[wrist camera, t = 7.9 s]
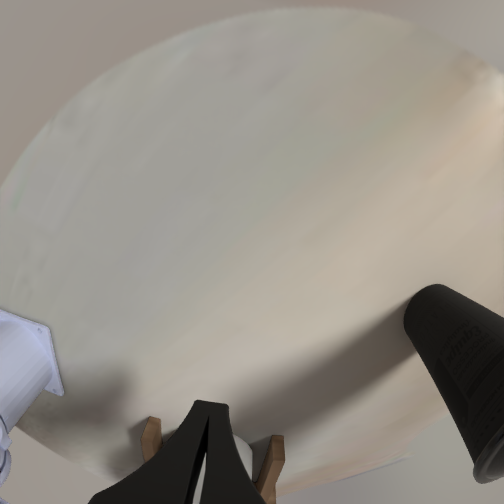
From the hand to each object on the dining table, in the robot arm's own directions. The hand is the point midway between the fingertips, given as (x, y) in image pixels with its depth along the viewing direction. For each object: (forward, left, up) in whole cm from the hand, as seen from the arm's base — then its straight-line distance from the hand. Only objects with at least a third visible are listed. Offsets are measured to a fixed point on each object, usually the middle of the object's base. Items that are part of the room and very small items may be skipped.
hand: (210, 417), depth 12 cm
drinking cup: (+15, +2, -10) cm, 18 cm away
